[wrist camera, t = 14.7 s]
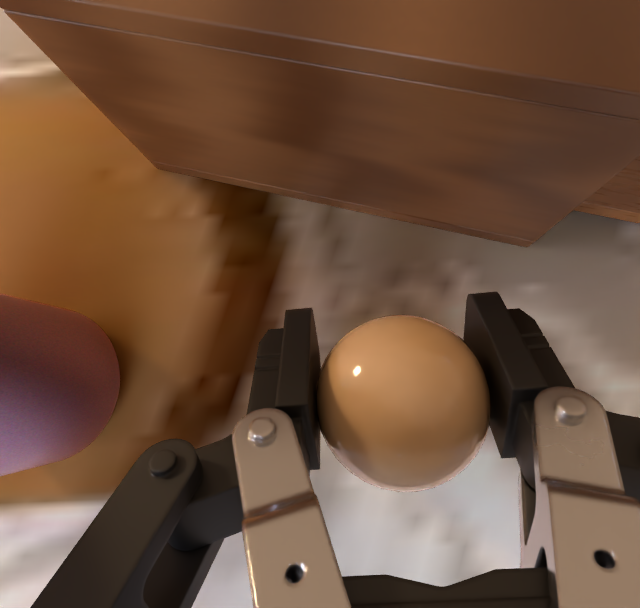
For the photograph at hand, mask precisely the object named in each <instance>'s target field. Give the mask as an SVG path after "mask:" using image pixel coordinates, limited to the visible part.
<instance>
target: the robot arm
mask: <svg viewBox="0 0 640 608" xmlns="http://www.w3.org/2000/svg"><path fill="white" fill-rule="evenodd" d="M463 341H465V342H466V343H467V345H468V346H469V347H470V348H471V350H472V351H473V352H474V353H475V355H476V356H477V358H478V360H479V362H480V363H481V365H482V367H483V369H484V371H485V374H486V377H487V380H488V384H489V387H490V394H491V404H492V408H491V418H490V428H491V430H492V433H493V436H494V439H495V441H496V444H497V447H498V450H499V453H500V455H501V458H513V457H516V458H517V461H518V464H519V466H520V472H519V477H518V491H519V516H520V542H521V563H520V568H516V569H495V570H493V571H490V572H487V573H484V574H481V575H478V576H475V577H472V578H470V579H467V580H464V581H461V582H458V583H455V584H452V585H449V586H445V587H439V586H434V585H429V584H425V583H421V582H416V581H412V580H407V579H403V578H398V577H394V576H390V575H367V576H346V577H342V576H341V573H340V570H339V566H338V563H337V560H336V557H335V553H334V550H333V547H332V544H331V540H330V537H329V534H328V531H327V527H326V524H325V521H324V518H323V514H322V511H321V508H320V505H319V502H318V499H317V496H316V495H315V494H314V491H313V488H312V484H311V481H310V478H309V476H310V470H315V469H320V426H319V421H318V417H317V413H316V388H317V382H318V378H319V374H320V371H321V366H320V353H319V346H318V340H317V333H316V327H315V320H314V314H313V309H312V308H303V309H292V310H286V312H285V320H284V328H281V329H270V330H268V331H267V333H266V334H265V335H264V337H263V338H262V339H261V341H260V342H259V346H258V352H257V359H256V364H255V371H254V375H253V381H252V387H251V393H250V398H249V404H248V410H247V414H246V415H245V416H244V417H243V418H242V419H240V420H239V422H238V423H237V424H236V426H235V428H234V430H233V433H232V434H231V435H230V436H228V437H226V438H224V439H223V440H220V441H218V442H215V443H212V444H209V445H206V446H204V447H201V448H198V449H195V448H194V447H193V445H192V444H190V443H189V442H187V441H185V440H182V439H168V440H164V441H161V442H159V443H156V444H155V445H153V446H151V447H150V448H148V449H147V450H146V451H145V452H144V453H142V454H141V456H140V457H139V458H138V459H137V461H136V462H135V463H134V465H133V466H132V468H131V469H130V470H129V472H128V473H127V475H126V476H125V477H124V479H123V480H122V481H121V483H120V484H119V486H118V487H117V488H116V490H115V491H114V493H113V494H112V495H111V497H110V498H109V499H108V501H107V502H106V504H105V505H104V506H103V508H102V509H101V511H100V512H99V513H98V515H97V516H96V518H95V519H94V520H93V522H92V523H91V524H90V526H89V527H88V529H87V530H86V531H85V533H84V534H83V536H82V537H81V538H80V540H79V541H78V542H77V544H76V545H75V547H74V548H73V549H72V551H71V552H70V554H69V555H68V556H67V558H66V559H65V560H64V562H63V563H62V565H61V566H60V567H59V569H58V570H57V572H56V573H55V574H54V576H53V577H52V579H51V580H50V581H49V583H48V584H47V585H46V587H45V588H44V590H43V591H42V592H41V594H40V595H39V597H38V598H37V599H36V601H35V602H34V603H33V605H32V606H31V608H191V607H192V605H193V603H194V601H195V599H196V597H197V594H198V592H199V590H200V588H201V586H202V584H203V582H204V580H205V578H206V576H207V574H208V572H209V569H210V567H211V565H212V563H213V561H214V559H215V557H216V555H217V553H218V551H219V549H220V547H221V545H222V542H223V540H224V538H226V537H228V536H231V535H233V534H236V533H239V532H241V531H242V533H243V540H244V546H245V553H246V560H247V566H248V573H249V580H250V586H251V593H252V600H253V606H254V608H640V418H638V417H632V416H626V415H620V414H616V413H612V412H609V411H605V409H604V408H603V406H602V405H601V404H600V403H599V402H598V401H597V400H596V399H595V398H594V397H592V396H591V395H589V394H587V393H585V392H583V391H581V390H578V389H575V387H574V385H573V384H572V382H571V380H570V379H569V377H568V375H567V374H566V372H565V370H564V368H563V367H562V365H561V363H560V362H559V360H558V358H557V357H556V355H555V353H554V352H553V350H552V348H551V347H549V343H548V342H547V340H546V338H545V336H543V333H542V331H541V330H540V328H539V326H538V325H537V323H536V321H535V320H534V319H533V318H532V317H530V316H529V315H528V314H526V313H525V312H524V311H522V310H521V309H520V308H518V309H507V308H506V306H505V304H504V302H503V300H502V298H501V296H500V295H499V293H498V292H487V293H476V294H468V296H467V300H466V312H465V325H464V338H463Z"/></svg>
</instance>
